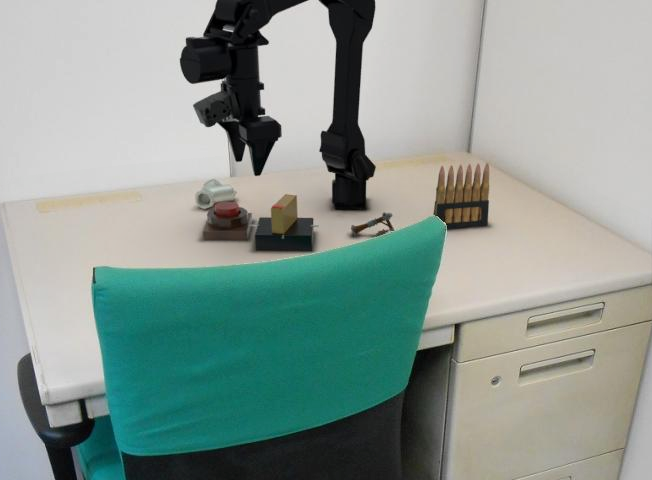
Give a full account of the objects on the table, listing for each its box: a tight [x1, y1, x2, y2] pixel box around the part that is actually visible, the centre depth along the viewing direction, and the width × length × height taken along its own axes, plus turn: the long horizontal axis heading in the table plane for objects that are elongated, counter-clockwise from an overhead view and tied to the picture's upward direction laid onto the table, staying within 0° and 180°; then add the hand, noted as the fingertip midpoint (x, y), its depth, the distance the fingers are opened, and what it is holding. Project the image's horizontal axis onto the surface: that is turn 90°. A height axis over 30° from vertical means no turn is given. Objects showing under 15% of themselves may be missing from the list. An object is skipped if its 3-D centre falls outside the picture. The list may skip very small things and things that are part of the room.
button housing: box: [202, 206, 253, 241], centre depth 156 cm, size 8×10×4 cm
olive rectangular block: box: [270, 193, 298, 234], centre depth 150 cm, size 8×2×5 cm, turn 166°
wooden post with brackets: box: [350, 212, 395, 237], centre depth 155 cm, size 2×8×4 cm, turn 86°
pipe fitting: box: [194, 178, 238, 210], centre depth 169 cm, size 8×4×7 cm
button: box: [214, 201, 240, 217], centre depth 155 cm, size 4×4×2 cm
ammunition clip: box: [433, 162, 490, 230], centre depth 157 cm, size 11×2×12 cm, turn 104°
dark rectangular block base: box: [251, 216, 319, 252], centre depth 152 cm, size 12×12×3 cm
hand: (247, 168), depth 148 cm, fingers open, 9 cm apart
